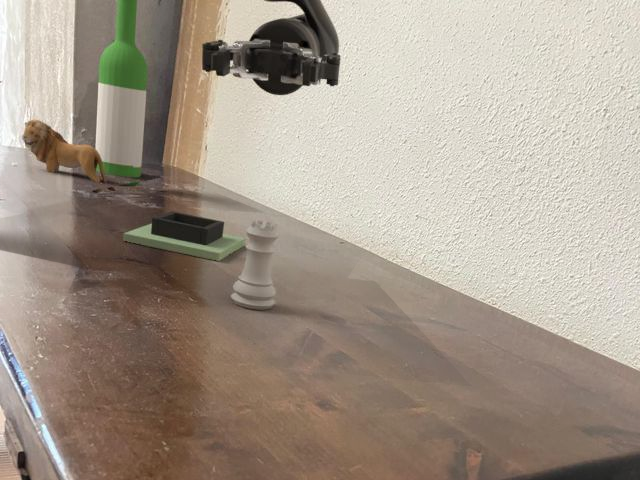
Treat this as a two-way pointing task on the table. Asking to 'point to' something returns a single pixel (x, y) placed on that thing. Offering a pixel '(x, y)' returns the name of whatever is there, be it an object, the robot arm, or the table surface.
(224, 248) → the socket pad
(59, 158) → the lion figurine
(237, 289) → the rook chess piece
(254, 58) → the robot arm
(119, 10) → the wine bottle
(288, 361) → the table surface
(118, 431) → the table surface
